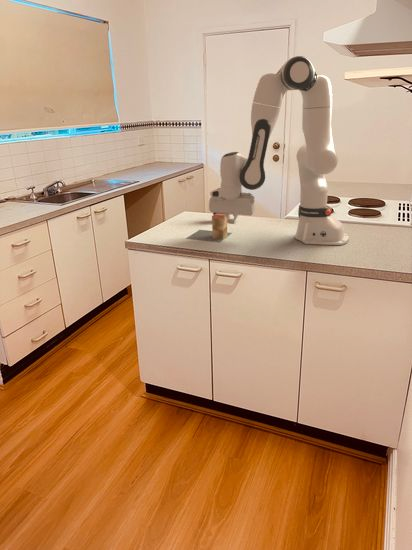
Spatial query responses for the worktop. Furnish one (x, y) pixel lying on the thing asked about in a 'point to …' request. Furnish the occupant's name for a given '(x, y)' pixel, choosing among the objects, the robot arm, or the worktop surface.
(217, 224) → the oak block
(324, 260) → the worktop surface
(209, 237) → the slate mat
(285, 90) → the robot arm
